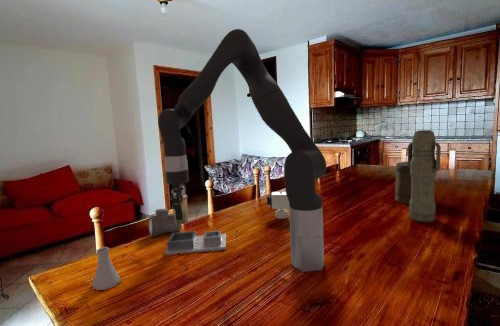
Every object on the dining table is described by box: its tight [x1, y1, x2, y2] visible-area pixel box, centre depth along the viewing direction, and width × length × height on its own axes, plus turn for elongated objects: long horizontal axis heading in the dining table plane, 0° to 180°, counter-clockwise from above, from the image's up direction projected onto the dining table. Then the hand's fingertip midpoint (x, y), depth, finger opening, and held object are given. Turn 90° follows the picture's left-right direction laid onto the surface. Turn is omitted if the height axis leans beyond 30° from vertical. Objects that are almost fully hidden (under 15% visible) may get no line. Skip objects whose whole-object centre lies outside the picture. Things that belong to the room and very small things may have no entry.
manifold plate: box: [164, 230, 227, 255], centre depth 102 cm, size 12×20×4 cm, turn 94°
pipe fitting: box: [148, 208, 182, 238], centre depth 115 cm, size 12×8×10 cm
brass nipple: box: [170, 194, 190, 225], centre depth 100 cm, size 6×6×9 cm
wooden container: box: [394, 161, 411, 205], centre depth 140 cm, size 15×15×22 cm
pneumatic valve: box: [266, 190, 289, 220], centre depth 126 cm, size 6×12×12 cm, turn 78°
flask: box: [92, 246, 122, 291], centre depth 79 cm, size 7×7×10 cm
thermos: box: [407, 129, 442, 223], centre depth 114 cm, size 9×12×35 cm
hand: (180, 217), depth 101 cm, fingers closed on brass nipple, 5 cm apart
